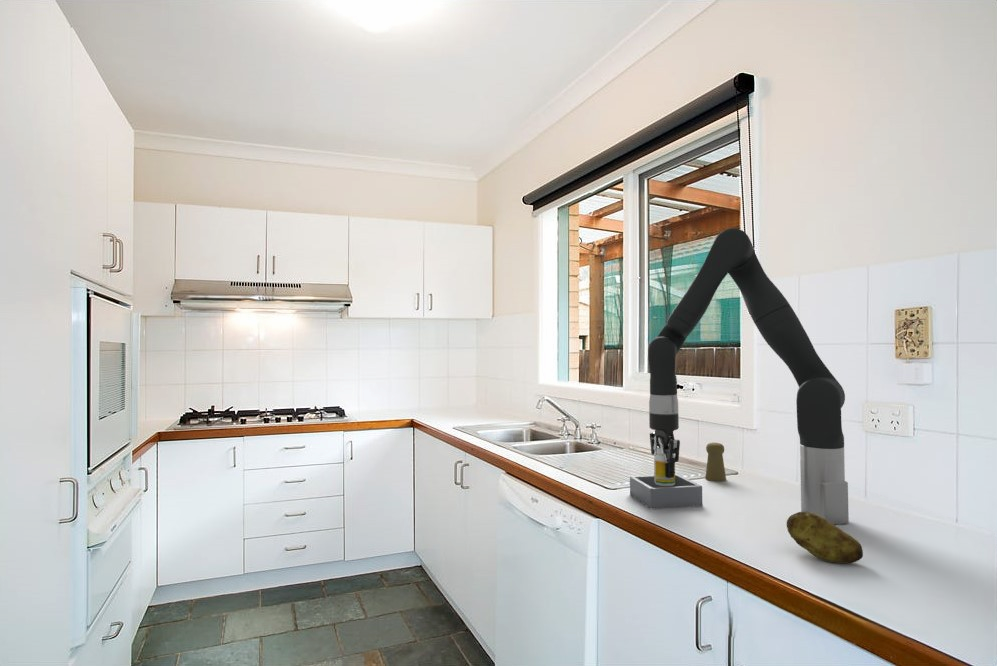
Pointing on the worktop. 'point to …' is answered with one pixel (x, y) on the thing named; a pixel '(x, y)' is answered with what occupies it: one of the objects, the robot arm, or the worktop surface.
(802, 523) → the potato
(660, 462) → the supplement bottle
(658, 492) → the box
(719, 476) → the cork
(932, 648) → the worktop surface
